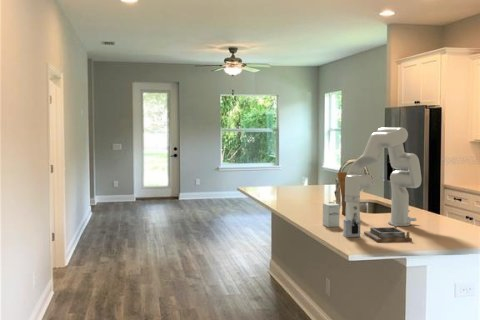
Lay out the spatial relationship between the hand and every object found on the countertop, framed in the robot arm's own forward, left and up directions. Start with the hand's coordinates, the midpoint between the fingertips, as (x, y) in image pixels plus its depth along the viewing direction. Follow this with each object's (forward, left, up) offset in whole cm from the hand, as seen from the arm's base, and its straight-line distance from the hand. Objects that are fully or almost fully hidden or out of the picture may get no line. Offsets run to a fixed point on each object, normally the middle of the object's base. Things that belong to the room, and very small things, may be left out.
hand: (351, 231), depth 253 cm
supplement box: (+3, -28, -3) cm, 28 cm away
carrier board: (-17, +5, -2) cm, 18 cm away
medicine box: (0, 0, -3) cm, 3 cm away
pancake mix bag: (-17, -60, -3) cm, 62 cm away
